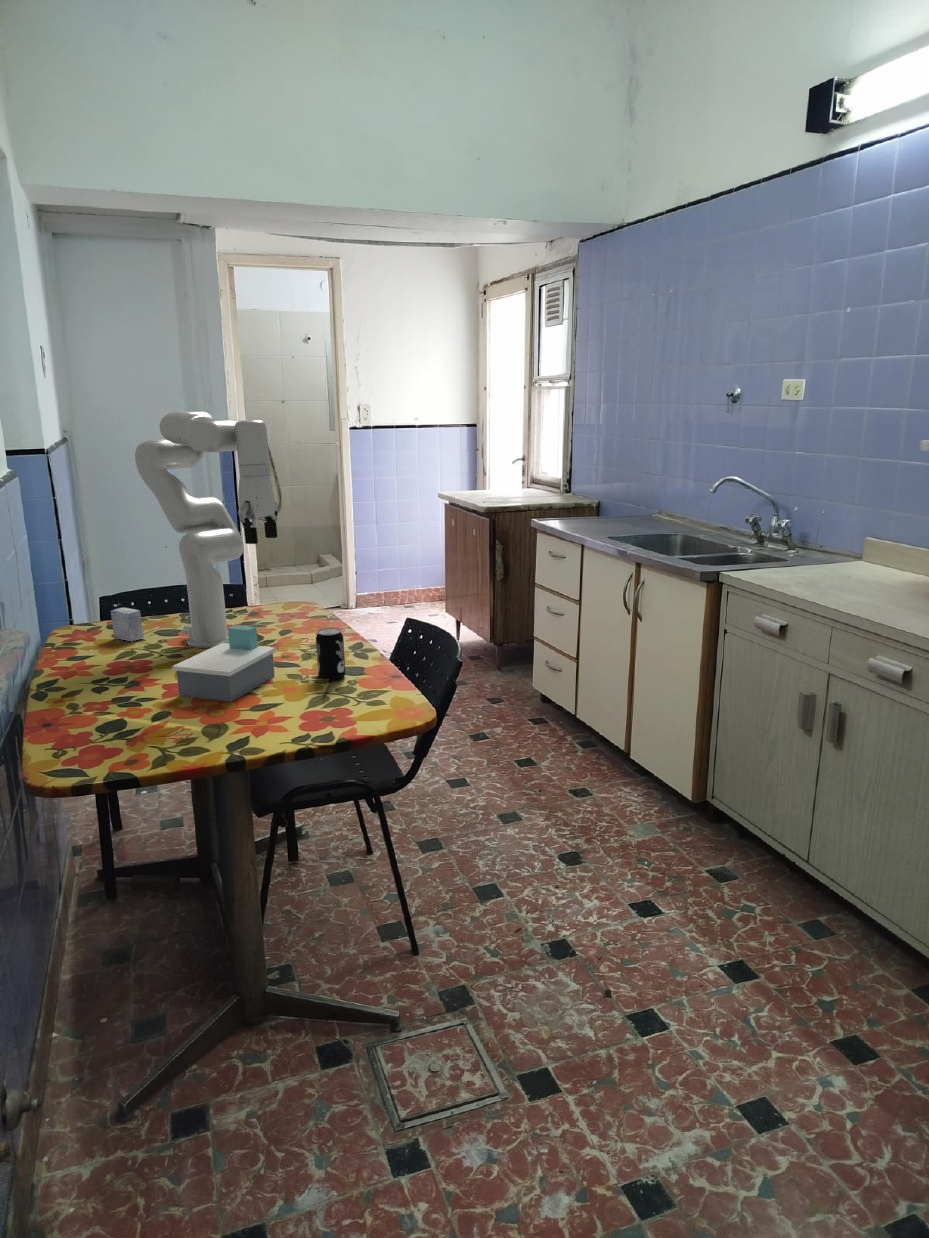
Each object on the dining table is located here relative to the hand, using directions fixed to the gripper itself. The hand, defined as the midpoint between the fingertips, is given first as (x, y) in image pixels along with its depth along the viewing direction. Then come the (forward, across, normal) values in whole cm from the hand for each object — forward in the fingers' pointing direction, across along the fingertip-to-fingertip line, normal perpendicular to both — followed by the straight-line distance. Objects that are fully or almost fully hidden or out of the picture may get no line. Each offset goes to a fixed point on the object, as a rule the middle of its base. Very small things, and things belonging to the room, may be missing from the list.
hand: (261, 540), depth 205 cm
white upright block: (+31, -9, -52) cm, 61 cm away
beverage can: (+33, +8, +20) cm, 39 cm away
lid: (+26, +21, 0) cm, 34 cm away
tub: (+32, +21, 0) cm, 38 cm away
